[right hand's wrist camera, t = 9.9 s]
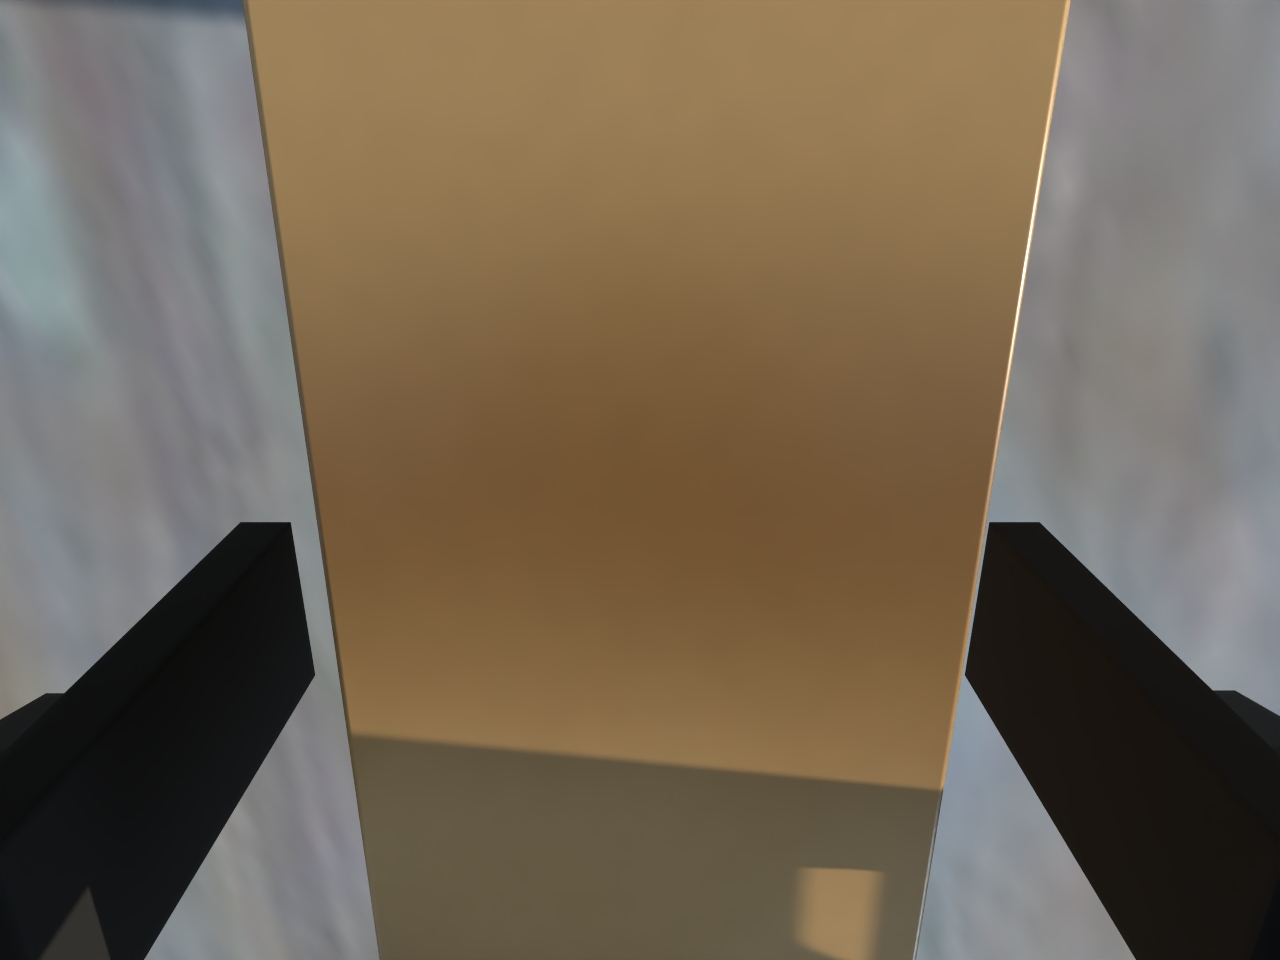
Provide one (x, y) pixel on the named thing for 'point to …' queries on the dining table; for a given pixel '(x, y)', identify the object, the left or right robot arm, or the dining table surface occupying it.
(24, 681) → the dining table surface
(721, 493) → the bar
